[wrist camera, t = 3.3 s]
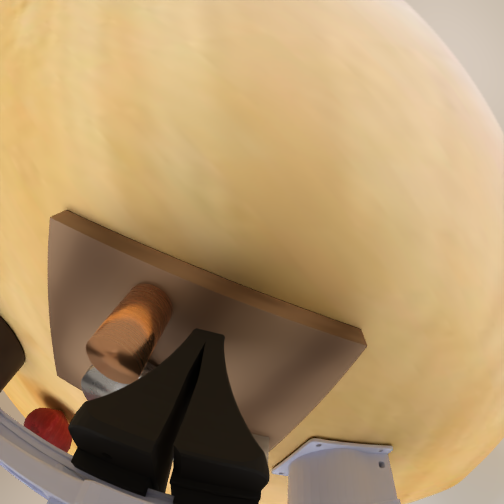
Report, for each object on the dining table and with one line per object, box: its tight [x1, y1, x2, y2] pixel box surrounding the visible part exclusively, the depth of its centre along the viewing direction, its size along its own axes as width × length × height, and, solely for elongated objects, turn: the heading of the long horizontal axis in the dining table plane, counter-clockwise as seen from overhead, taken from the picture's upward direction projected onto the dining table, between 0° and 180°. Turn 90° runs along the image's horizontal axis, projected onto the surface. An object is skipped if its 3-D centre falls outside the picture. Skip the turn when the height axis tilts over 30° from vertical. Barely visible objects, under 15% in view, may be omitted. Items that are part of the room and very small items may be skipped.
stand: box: [48, 210, 367, 463], centre depth 15 cm, size 18×14×4 cm
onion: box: [24, 408, 72, 453], centre depth 19 cm, size 6×6×8 cm
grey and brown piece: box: [81, 284, 173, 401], centre depth 13 cm, size 11×6×4 cm, turn 158°
